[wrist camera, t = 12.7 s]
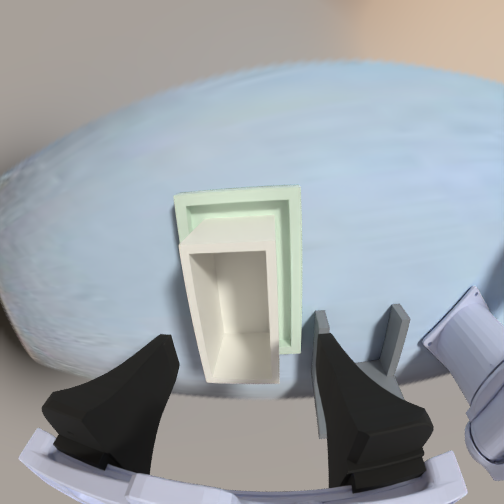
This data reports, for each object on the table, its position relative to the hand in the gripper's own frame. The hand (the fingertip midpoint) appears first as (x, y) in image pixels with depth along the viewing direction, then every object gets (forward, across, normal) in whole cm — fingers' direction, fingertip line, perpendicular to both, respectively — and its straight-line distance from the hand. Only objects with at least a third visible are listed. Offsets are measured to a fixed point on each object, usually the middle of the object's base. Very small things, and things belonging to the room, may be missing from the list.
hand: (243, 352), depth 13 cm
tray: (+9, +1, 0) cm, 9 cm away
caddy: (+9, +1, 0) cm, 9 cm away
